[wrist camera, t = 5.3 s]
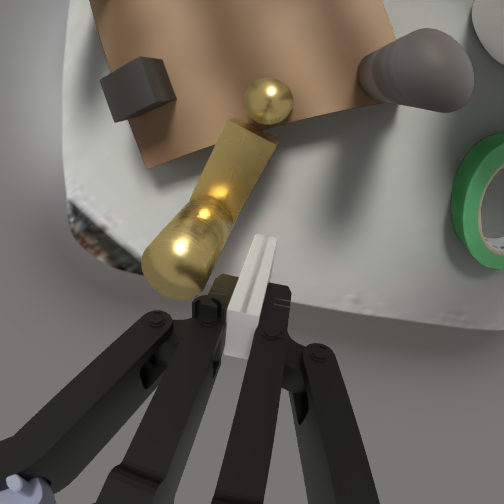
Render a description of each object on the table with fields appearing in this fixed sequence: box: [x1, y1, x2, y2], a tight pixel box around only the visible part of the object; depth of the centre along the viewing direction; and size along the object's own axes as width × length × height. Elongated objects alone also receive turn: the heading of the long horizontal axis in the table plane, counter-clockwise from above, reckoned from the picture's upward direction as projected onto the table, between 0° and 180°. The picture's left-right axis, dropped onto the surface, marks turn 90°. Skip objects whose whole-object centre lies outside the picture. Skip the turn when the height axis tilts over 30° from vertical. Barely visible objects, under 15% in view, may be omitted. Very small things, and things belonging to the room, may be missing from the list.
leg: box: [141, 78, 294, 300], centre depth 15 cm, size 11×3×8 cm, turn 153°
